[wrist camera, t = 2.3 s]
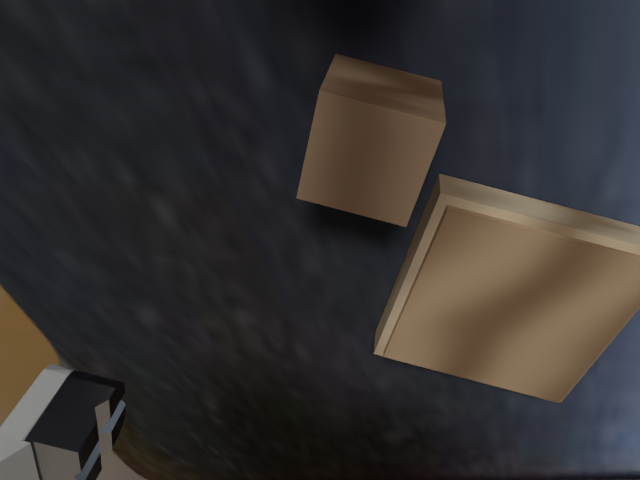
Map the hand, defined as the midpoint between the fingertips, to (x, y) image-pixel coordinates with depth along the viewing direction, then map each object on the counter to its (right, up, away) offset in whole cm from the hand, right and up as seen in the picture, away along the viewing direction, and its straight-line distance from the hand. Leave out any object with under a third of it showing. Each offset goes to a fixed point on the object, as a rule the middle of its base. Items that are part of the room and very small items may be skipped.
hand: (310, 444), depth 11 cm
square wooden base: (+11, +1, +19) cm, 22 cm away
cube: (+3, +10, +14) cm, 18 cm away
